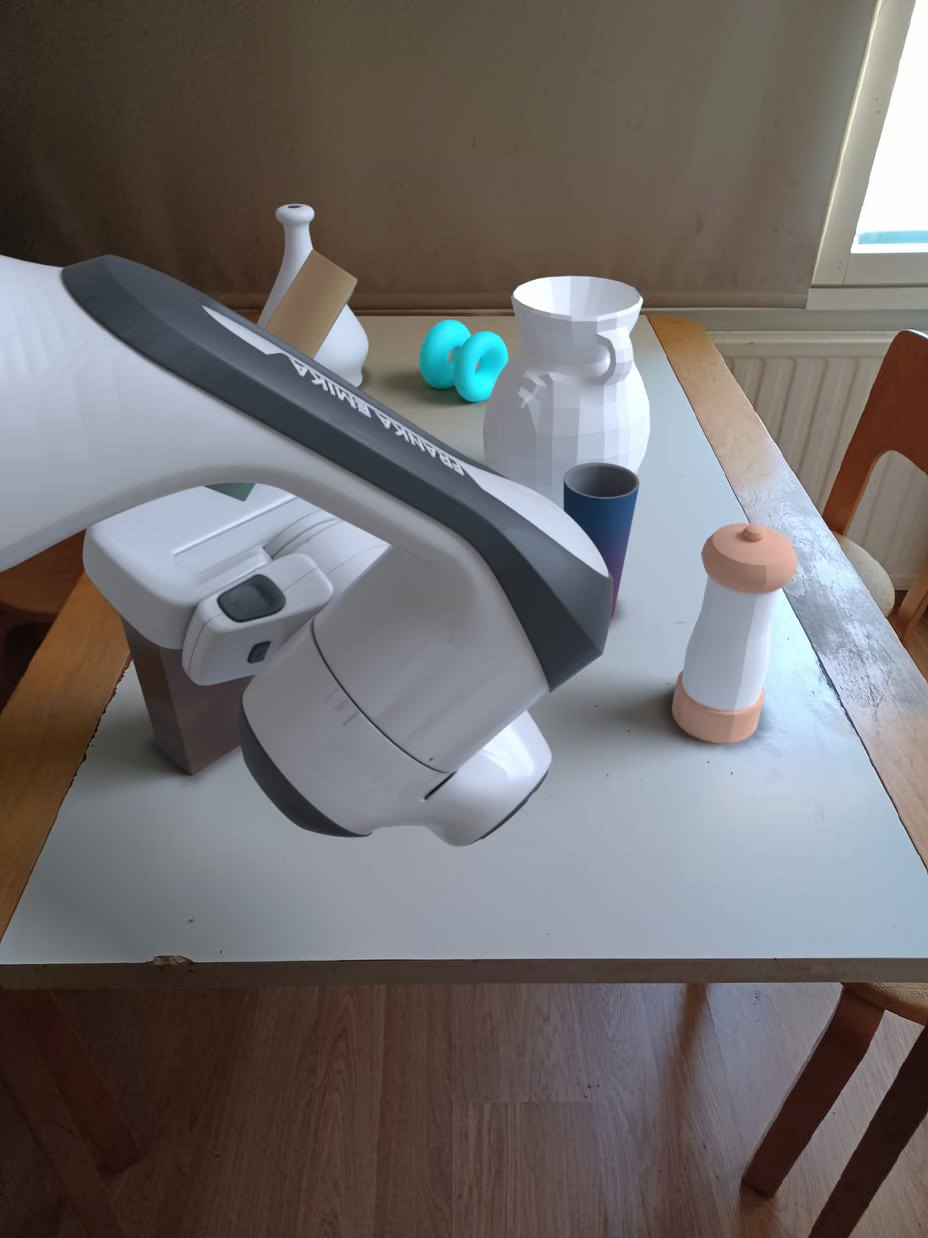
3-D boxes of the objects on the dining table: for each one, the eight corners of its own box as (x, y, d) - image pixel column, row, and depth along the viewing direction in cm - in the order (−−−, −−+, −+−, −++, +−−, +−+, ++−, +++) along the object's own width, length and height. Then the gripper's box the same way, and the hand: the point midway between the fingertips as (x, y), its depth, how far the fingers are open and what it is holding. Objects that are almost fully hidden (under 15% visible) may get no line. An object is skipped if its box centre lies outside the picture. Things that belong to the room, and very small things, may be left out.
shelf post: (193, 779, 73) (116, 495, 57) (158, 749, 76) (76, 470, 60) (262, 733, 77) (209, 457, 62) (227, 707, 80) (167, 436, 64)
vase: (237, 400, 133) (206, 218, 118) (281, 357, 146) (259, 189, 131) (350, 410, 130) (333, 225, 115) (384, 365, 143) (374, 194, 128)
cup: (627, 634, 88) (644, 498, 79) (556, 633, 88) (566, 498, 79) (618, 593, 93) (634, 462, 84) (552, 593, 93) (560, 461, 84)
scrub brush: (367, 300, 55) (376, 280, 50) (241, 511, 55) (238, 512, 50) (295, 252, 54) (297, 227, 49) (167, 467, 54) (156, 464, 49)
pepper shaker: (687, 679, 83) (722, 493, 71) (767, 706, 80) (817, 517, 68) (659, 727, 78) (691, 536, 66) (742, 758, 75) (792, 564, 63)
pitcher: (672, 520, 105) (706, 302, 90) (541, 566, 97) (554, 337, 82) (576, 457, 118) (591, 257, 103) (453, 493, 110) (450, 283, 95)
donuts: (463, 374, 140) (462, 310, 134) (511, 392, 134) (513, 326, 128) (416, 394, 134) (413, 327, 128) (464, 413, 129) (464, 344, 123)
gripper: (470, 490, 55) (330, 333, 58) (185, 645, 43) (23, 439, 46) (435, 547, 60) (307, 400, 63) (171, 701, 48) (25, 512, 51)
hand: (185, 417), depth 54 cm, fingers closed on scrub brush, 5 cm apart
